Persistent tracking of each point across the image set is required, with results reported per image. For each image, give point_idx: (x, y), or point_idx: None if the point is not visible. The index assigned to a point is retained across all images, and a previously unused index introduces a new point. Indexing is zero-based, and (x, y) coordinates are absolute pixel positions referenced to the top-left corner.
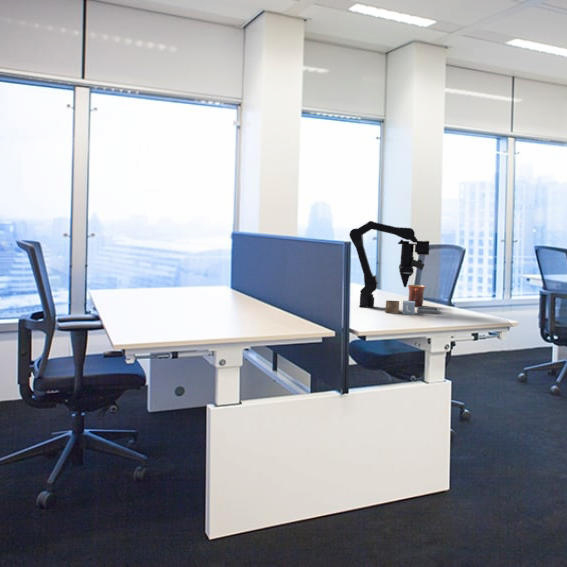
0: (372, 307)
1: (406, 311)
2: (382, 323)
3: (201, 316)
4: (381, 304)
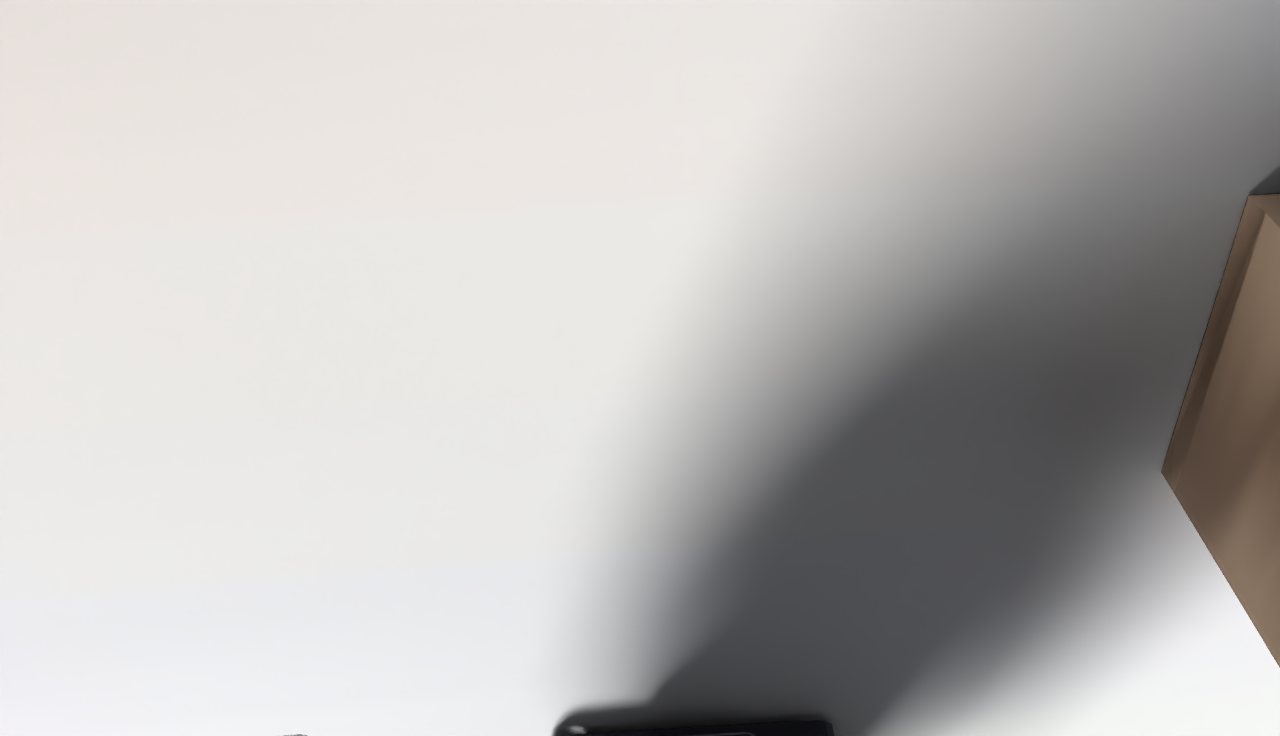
0: (814, 721)
1: None
2: None
3: None
4: (138, 633)
